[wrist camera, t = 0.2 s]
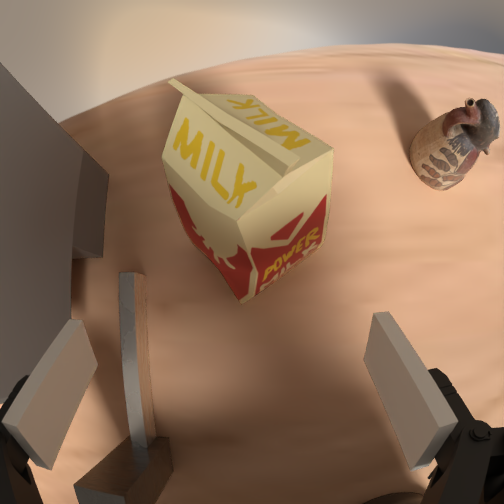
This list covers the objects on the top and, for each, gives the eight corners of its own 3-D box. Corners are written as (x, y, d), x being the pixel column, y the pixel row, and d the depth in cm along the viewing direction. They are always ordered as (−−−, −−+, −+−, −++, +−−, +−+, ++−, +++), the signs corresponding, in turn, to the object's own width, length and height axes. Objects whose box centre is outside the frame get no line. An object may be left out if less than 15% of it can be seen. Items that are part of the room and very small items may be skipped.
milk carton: (321, 245, 30) (419, 137, 10) (243, 309, 29) (213, 305, 9) (260, 174, 31) (261, 6, 11) (184, 232, 30) (80, 113, 11)
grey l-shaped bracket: (173, 470, 26) (135, 537, 14) (136, 466, 26) (86, 525, 14) (158, 275, 30) (99, 252, 18) (120, 276, 30) (49, 255, 18)
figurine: (460, 197, 30) (526, 154, 19) (408, 182, 31) (466, 127, 19) (456, 144, 32) (509, 92, 20) (406, 128, 32) (452, 64, 20)
